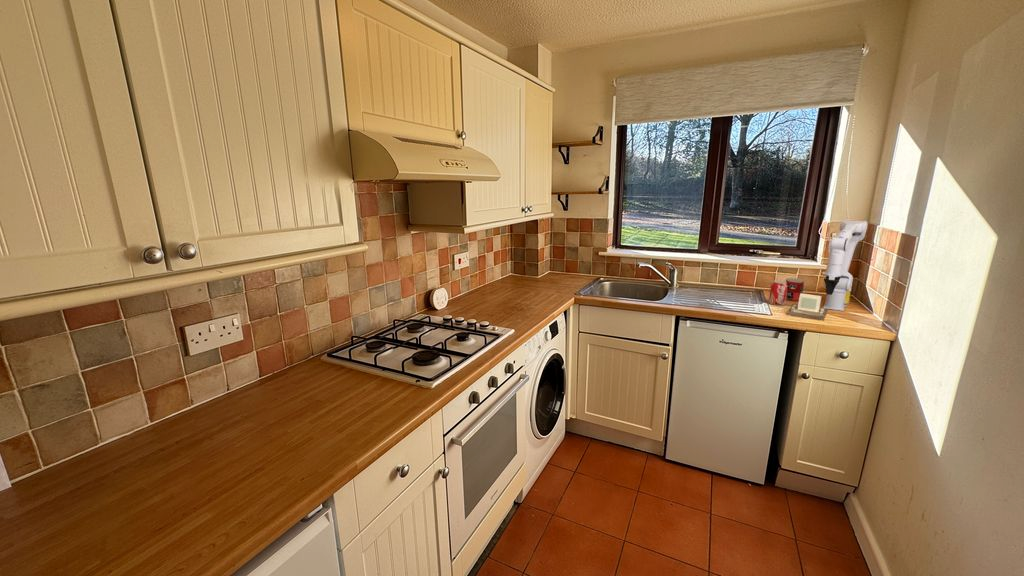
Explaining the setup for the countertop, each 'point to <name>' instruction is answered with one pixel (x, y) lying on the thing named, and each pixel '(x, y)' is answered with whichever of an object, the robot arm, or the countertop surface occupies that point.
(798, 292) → the canned food
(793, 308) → the notched board
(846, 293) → the pill bottle
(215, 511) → the countertop surface
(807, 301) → the picture frame
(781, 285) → the soda can
